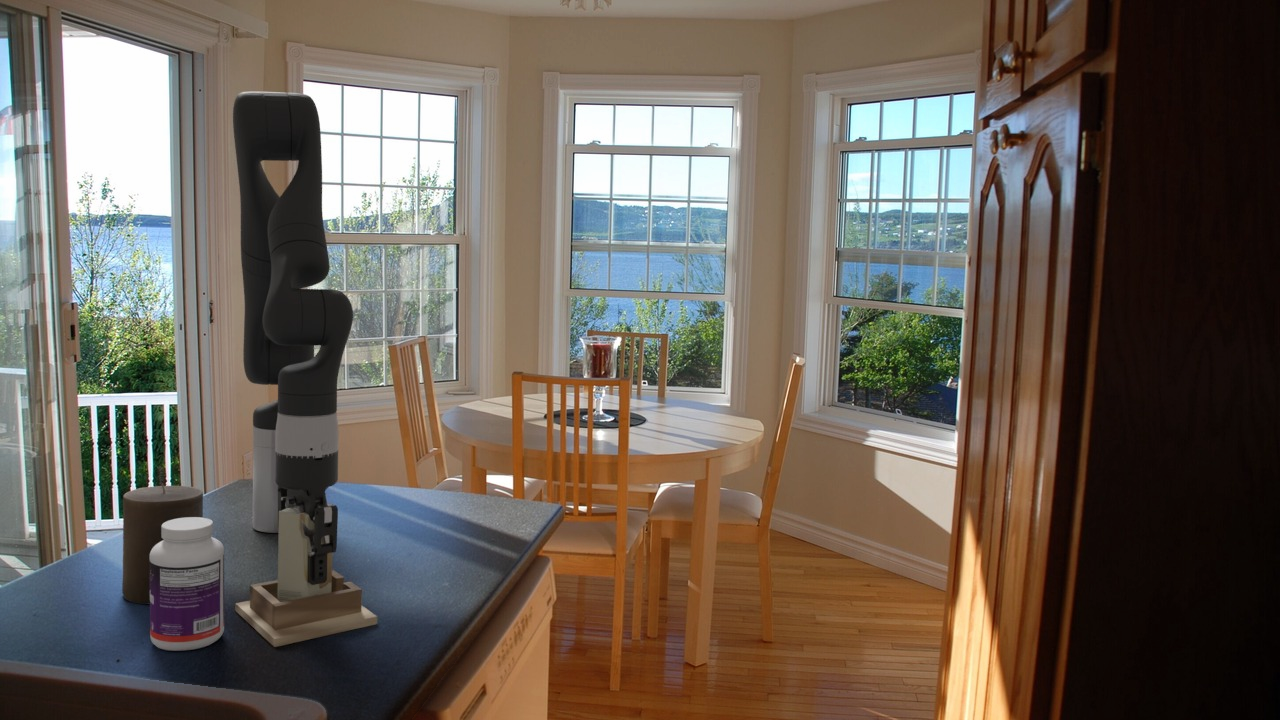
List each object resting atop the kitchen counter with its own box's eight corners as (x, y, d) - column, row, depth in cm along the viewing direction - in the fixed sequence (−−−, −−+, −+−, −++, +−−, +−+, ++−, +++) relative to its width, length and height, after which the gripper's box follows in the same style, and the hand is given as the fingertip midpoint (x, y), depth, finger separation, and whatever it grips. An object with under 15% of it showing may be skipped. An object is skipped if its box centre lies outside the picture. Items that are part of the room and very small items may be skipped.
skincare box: (307, 610, 121) (308, 515, 119) (275, 606, 122) (276, 511, 120) (333, 593, 127) (335, 502, 126) (303, 589, 128) (304, 498, 127)
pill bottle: (166, 627, 119) (165, 513, 118) (233, 628, 120) (233, 514, 119) (138, 654, 111) (136, 532, 110) (210, 655, 112) (210, 533, 111)
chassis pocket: (235, 610, 126) (235, 580, 125) (332, 591, 134) (332, 563, 134) (274, 647, 115) (274, 614, 115) (377, 624, 123) (377, 593, 123)
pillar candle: (162, 609, 125) (162, 495, 123) (105, 596, 128) (105, 485, 127) (218, 587, 134) (220, 481, 132) (164, 576, 137) (165, 472, 136)
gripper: (257, 439, 125) (256, 564, 127) (299, 461, 114) (298, 597, 116) (314, 434, 130) (312, 554, 132) (359, 455, 119) (357, 585, 121)
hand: (305, 574), depth 124 cm, fingers closed on skincare box, 7 cm apart
